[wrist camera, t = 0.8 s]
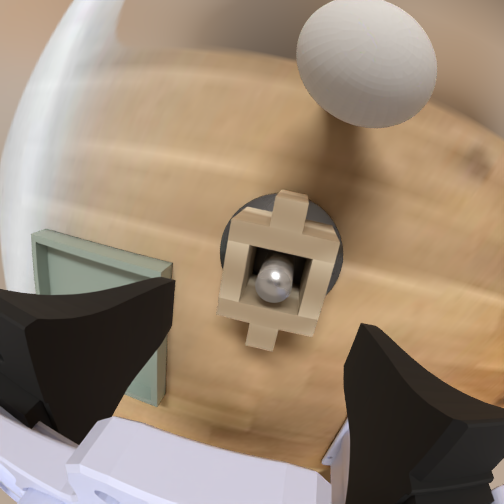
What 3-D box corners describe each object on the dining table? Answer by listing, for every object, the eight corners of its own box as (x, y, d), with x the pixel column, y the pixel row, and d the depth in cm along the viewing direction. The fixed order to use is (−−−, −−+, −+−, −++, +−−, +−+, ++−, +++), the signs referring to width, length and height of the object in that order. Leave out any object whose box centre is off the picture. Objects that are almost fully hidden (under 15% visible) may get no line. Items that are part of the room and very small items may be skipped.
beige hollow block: (305, 321, 21) (305, 358, 17) (229, 304, 21) (212, 336, 17) (337, 201, 18) (347, 212, 14) (251, 183, 19) (236, 188, 15)
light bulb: (344, 159, 18) (386, 154, 8) (279, 91, 17) (255, 25, 8) (407, 104, 16) (487, 63, 7) (344, 39, 16) (371, -49, 6)
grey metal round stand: (324, 319, 21) (328, 366, 16) (214, 294, 22) (188, 333, 17) (355, 208, 19) (374, 225, 13) (232, 182, 19) (206, 188, 14)
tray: (165, 393, 26) (157, 407, 24) (58, 347, 27) (47, 356, 25) (172, 262, 22) (161, 272, 20) (46, 228, 23) (31, 233, 21)
